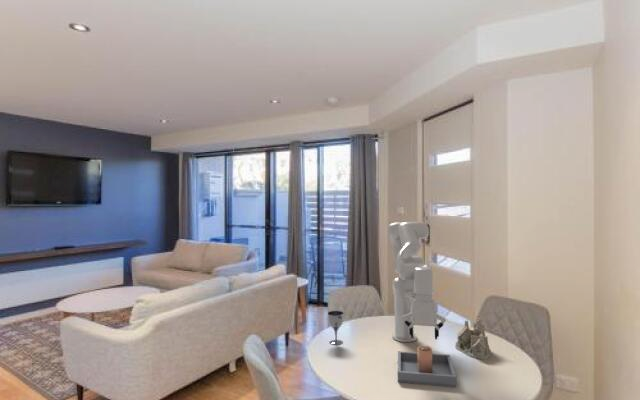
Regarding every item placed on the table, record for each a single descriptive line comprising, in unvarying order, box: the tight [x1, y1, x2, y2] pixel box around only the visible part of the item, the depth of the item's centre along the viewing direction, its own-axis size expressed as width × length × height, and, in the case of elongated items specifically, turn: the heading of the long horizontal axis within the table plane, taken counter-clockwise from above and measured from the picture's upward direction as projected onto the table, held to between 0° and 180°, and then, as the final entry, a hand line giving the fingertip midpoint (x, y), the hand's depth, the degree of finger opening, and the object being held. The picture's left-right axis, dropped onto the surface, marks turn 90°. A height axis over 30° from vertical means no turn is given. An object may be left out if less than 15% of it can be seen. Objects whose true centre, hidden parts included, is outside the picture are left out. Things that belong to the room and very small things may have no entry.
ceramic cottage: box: [454, 317, 492, 360], centre depth 171 cm, size 16×16×15 cm
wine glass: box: [327, 310, 344, 346], centre depth 185 cm, size 8×8×15 cm
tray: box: [397, 350, 457, 388], centre depth 151 cm, size 20×22×4 cm
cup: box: [416, 345, 433, 373], centre depth 151 cm, size 6×6×9 cm
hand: (423, 337), depth 152 cm, fingers open, 9 cm apart
